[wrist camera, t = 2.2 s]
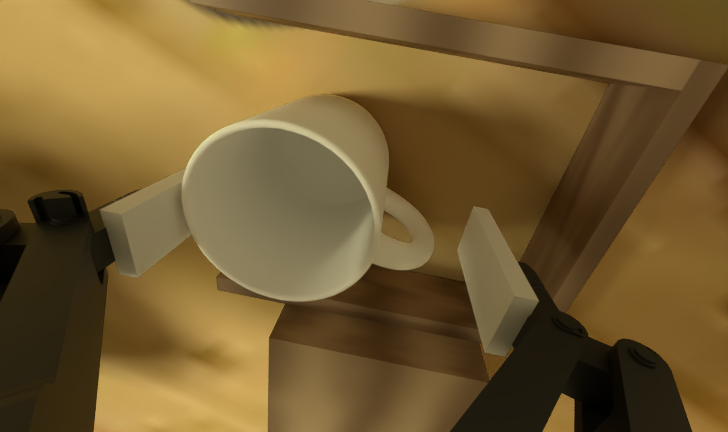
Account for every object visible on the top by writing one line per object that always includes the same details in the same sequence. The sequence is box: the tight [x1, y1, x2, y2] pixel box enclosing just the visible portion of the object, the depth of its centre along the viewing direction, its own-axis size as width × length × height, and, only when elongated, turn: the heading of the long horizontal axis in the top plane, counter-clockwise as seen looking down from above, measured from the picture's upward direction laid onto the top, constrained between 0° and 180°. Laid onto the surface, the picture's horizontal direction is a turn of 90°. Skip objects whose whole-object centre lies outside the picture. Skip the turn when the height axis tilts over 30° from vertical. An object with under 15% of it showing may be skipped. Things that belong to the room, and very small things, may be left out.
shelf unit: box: [190, 0, 728, 432], centre depth 22 cm, size 23×34×8 cm
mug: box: [181, 94, 434, 302], centre depth 17 cm, size 12×8×10 cm
